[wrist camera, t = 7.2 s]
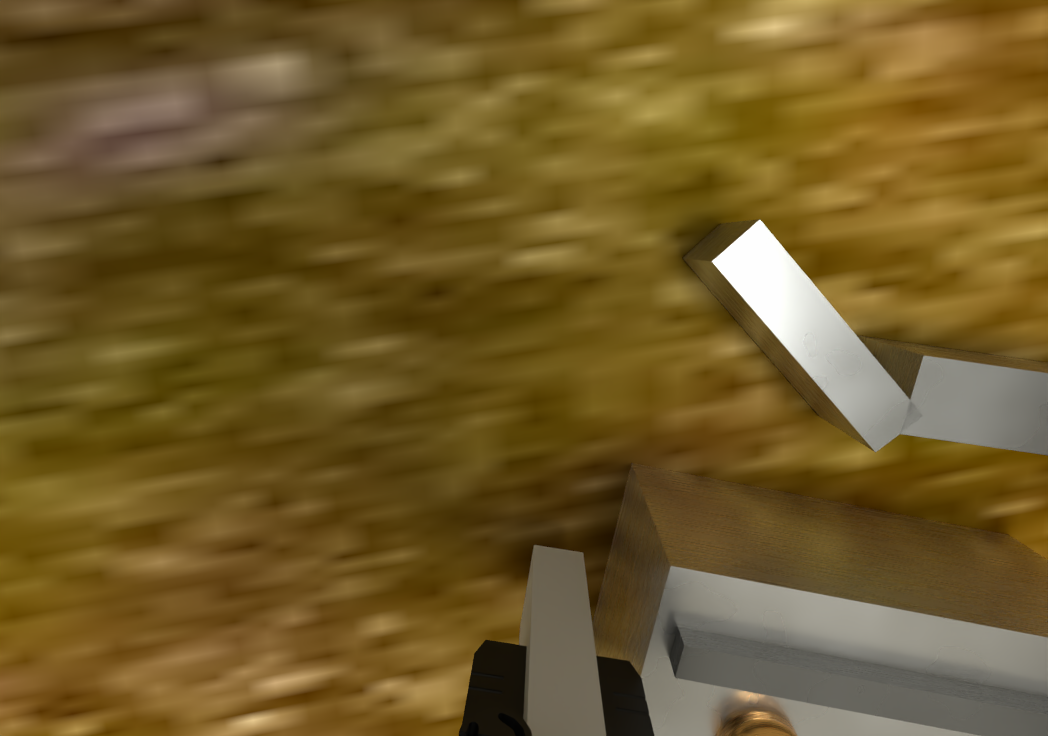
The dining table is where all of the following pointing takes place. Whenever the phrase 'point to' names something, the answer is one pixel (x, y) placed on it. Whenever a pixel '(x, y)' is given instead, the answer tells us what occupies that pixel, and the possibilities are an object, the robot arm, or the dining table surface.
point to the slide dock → (868, 357)
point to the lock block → (819, 616)
